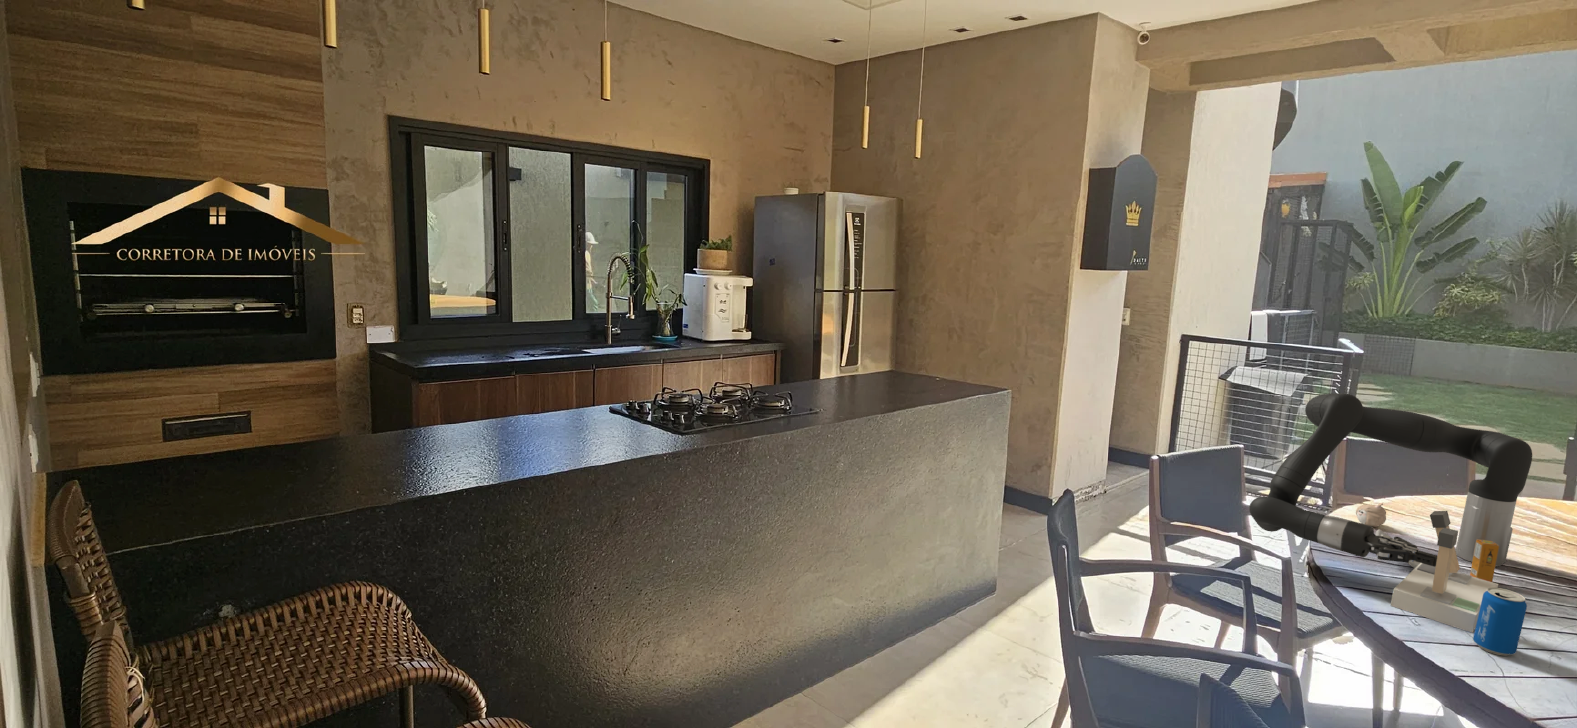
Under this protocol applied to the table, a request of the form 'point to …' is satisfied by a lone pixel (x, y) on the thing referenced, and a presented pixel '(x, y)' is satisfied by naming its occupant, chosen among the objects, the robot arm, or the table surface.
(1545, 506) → the table surface
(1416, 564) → the light switch
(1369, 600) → the table surface
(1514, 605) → the beverage can
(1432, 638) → the table surface
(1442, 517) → the lever charcoal
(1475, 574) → the supplement box
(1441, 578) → the tan lever
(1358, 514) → the brown hamster figurine
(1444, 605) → the switch unit
